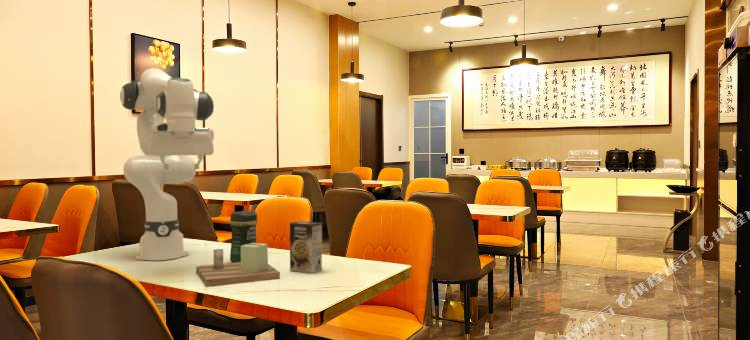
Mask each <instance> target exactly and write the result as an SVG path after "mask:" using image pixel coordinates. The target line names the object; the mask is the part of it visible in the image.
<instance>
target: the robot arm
mask: <svg viewBox="0 0 750 340" xmlns="http://www.w3.org/2000/svg"><path fill="white" fill-rule="evenodd" d="M119 100H120V102H121V105H122V107H123V108H124V109H127V110H130V111H134V110H135V111H141V112H140V113H139V114H138V115H137V118H136V132H137V133H136V134H137V137H138V143H139V148H140V150H141V152H142V153H143V154H142V155H135V156H131V157H129V158H128V159H127V160H126V161H125V163H124V165H123V168H122V169H123V175H124V178H125V179H126V181H128V182H129V183H130V184H131V185H133V186H134V187H135V188H137V190H138V191H139V192H140V194H141V195H142V196H141V197H143V201H144V207H145V221H144V231H145V232H144V234H143V235H142V236H141V237H140V239H139V250H140V252H139V253H138V254H137V255H136V256H135V258H134V259H135V260H138V261H140V260H141V261H142V260H143V261H167V260H172V259H173V260H174V259H178V258H182V257H186V256H189V252H188V251H186V250H185V249H184V234H183V233H182V232H181V231H180V230H179V229H180V227H179V226H180V223H179V219H178V201H177V199H176V198H175V196H174V195H171V194H169V193H168V192H165V191H163V190H162V189H161V185H164V184H165V185H167V184H170V185H171V184H173V185H174V184H182V183H186V182H191V181H192V180H193V179H194V178H195V176H196V174H197V170H200V164H201V162H202V161H203V157H204V156H211V155H212V156H213V154H214V144H213V143H214V142H213V140H215V132H214V130H213V129H211V128H210V127H200V126H199V127H196V121H202V122H203V121H204V122H205V121H206V120H208V119H209V118H210V117H211V116H212V115H213V113H214V107H215V105H214V100H213V98H212V96H210V94H209V93H208V92H206V91H198V90H197V89H195V88H194V84H193V80H191V79H189V78H181V77H172V76H171V75H169V74H168V73H166V72H165V71H164V70H162V69H160V68H157V67H156V68H154V67H151V68H148V69H145V70H144V71H143V72H142V73H141V77H140V81H139V82H137V81H135V80H132V81H131V82H128V83H126V84H124V85H122V87H121V90H120V92H119ZM164 119H166V121H165V120H164ZM191 156H197V159H198V160H197V162H195V160H193V158H192V157H191Z"/></svg>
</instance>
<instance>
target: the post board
mask: <svg viewBox="0 0 750 340" xmlns="http://www.w3.org/2000/svg"><path fill="white" fill-rule="evenodd" d="M195 267H196V268H195V271H196V274H197V275H198V276H199V278H200V280H201V281H202V282H203V284H204V285H205V287H206V288H207V287H215V286H216V285H217V286H224V285H225V286H226V285H234V284H242V283H254V282H259V281H260V282H261V281H270V280H279V279H280V278H281V272H280V271H279V270H278V269H276V268H274V267H273V266H272V265H270V264H269V263H268V268H266V269H263V270H261V271H258V272H253V271H243V270H241V262H235V263H233V262H227V263H224V249H222V248H216V249H213V264H204V265H203V264H202V265H196V266H195Z"/></svg>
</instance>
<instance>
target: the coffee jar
mask: <svg viewBox="0 0 750 340" xmlns="http://www.w3.org/2000/svg"><path fill="white" fill-rule="evenodd" d="M229 224H230V226H231V239H230V241H231V242H230V255H229V261H230V263H235V262H241V246H242V245H246V244H250V243H257V224H258V213H257V212H256V211H255V210H241V211H240V210H239V211H234V212H232V213H231V214H230V219H229Z"/></svg>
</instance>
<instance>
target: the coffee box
mask: <svg viewBox="0 0 750 340" xmlns="http://www.w3.org/2000/svg"><path fill="white" fill-rule="evenodd" d="M322 250H323V223H322V222H316V221H315V222H313V221H302V220H301V221H294V222H293V221H292V222H290V223H289V259H290V260H289V270H290V271H291V272H297V273H306V274H315V273H317V272H320V271H322V270H323V251H322Z"/></svg>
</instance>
